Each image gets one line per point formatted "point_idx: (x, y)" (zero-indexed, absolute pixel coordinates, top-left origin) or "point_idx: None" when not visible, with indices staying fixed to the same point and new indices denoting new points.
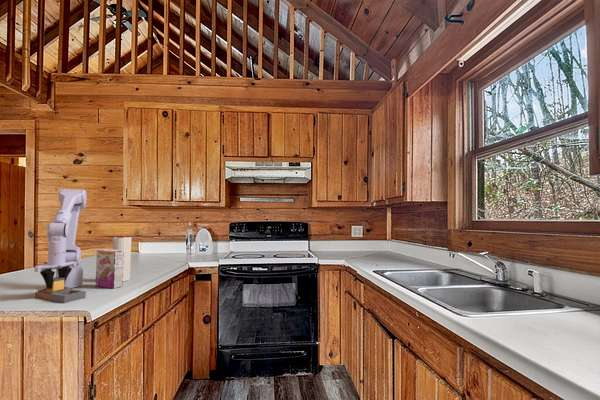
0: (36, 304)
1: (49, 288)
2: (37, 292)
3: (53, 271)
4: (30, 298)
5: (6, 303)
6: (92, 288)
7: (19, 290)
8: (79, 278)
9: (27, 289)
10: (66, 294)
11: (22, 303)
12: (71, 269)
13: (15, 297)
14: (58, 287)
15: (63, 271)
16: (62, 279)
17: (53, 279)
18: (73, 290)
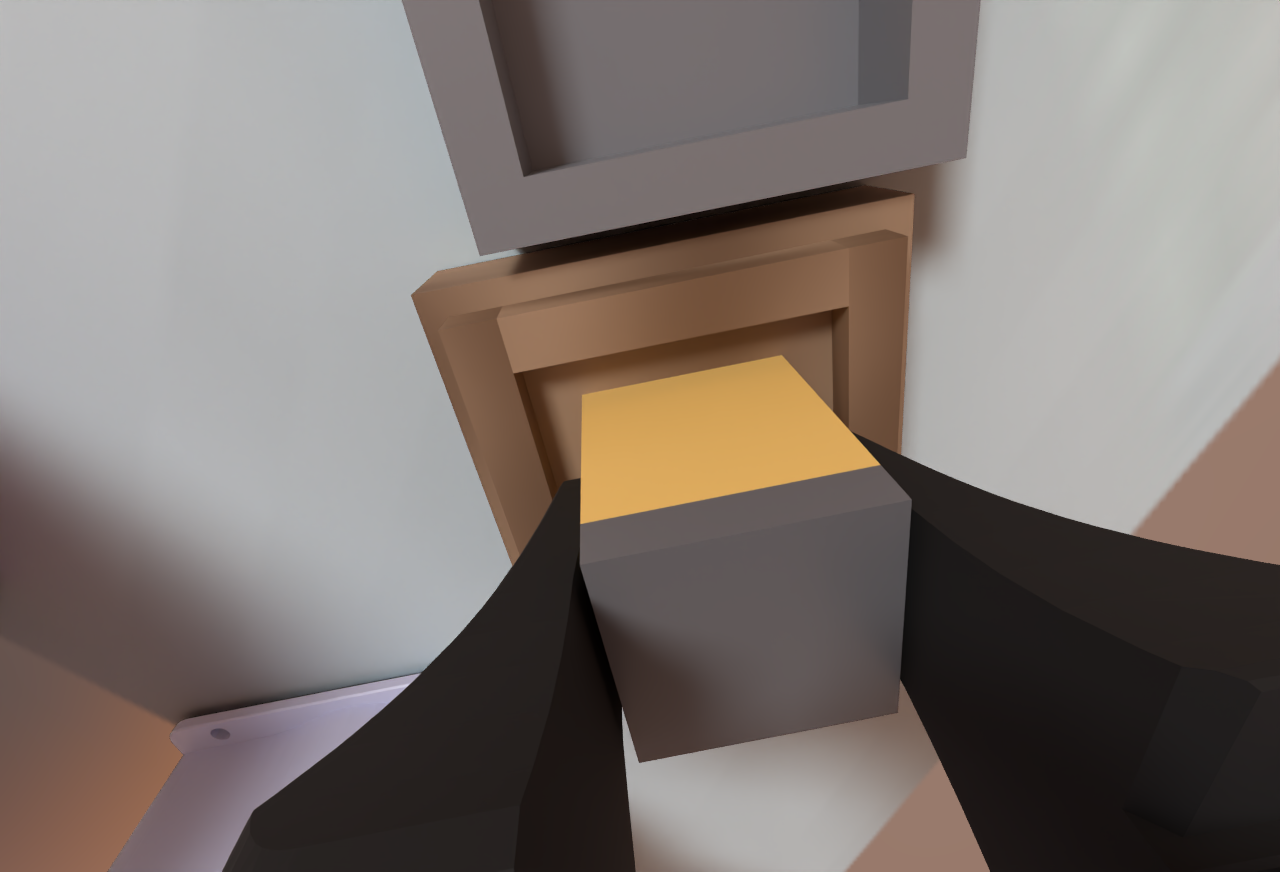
0: (1145, 51)
1: None
2: None
3: (1275, 715)
4: None
5: (1172, 475)
6: (63, 500)
7: (754, 867)
8: (167, 852)
9: (697, 866)
10: (621, 154)
11: (1135, 322)
12: (232, 857)
13: None
14: (703, 407)
15: (582, 833)
16: (638, 523)
17: (904, 525)
18: (495, 58)
